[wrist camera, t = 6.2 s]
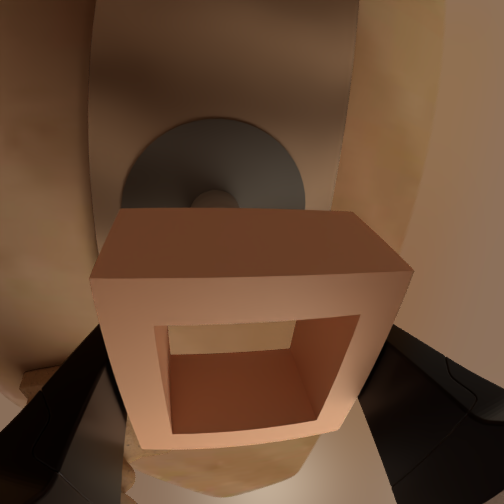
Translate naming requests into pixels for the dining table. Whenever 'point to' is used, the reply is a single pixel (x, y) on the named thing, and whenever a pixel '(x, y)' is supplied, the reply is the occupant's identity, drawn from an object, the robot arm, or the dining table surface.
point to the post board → (217, 104)
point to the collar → (243, 319)
